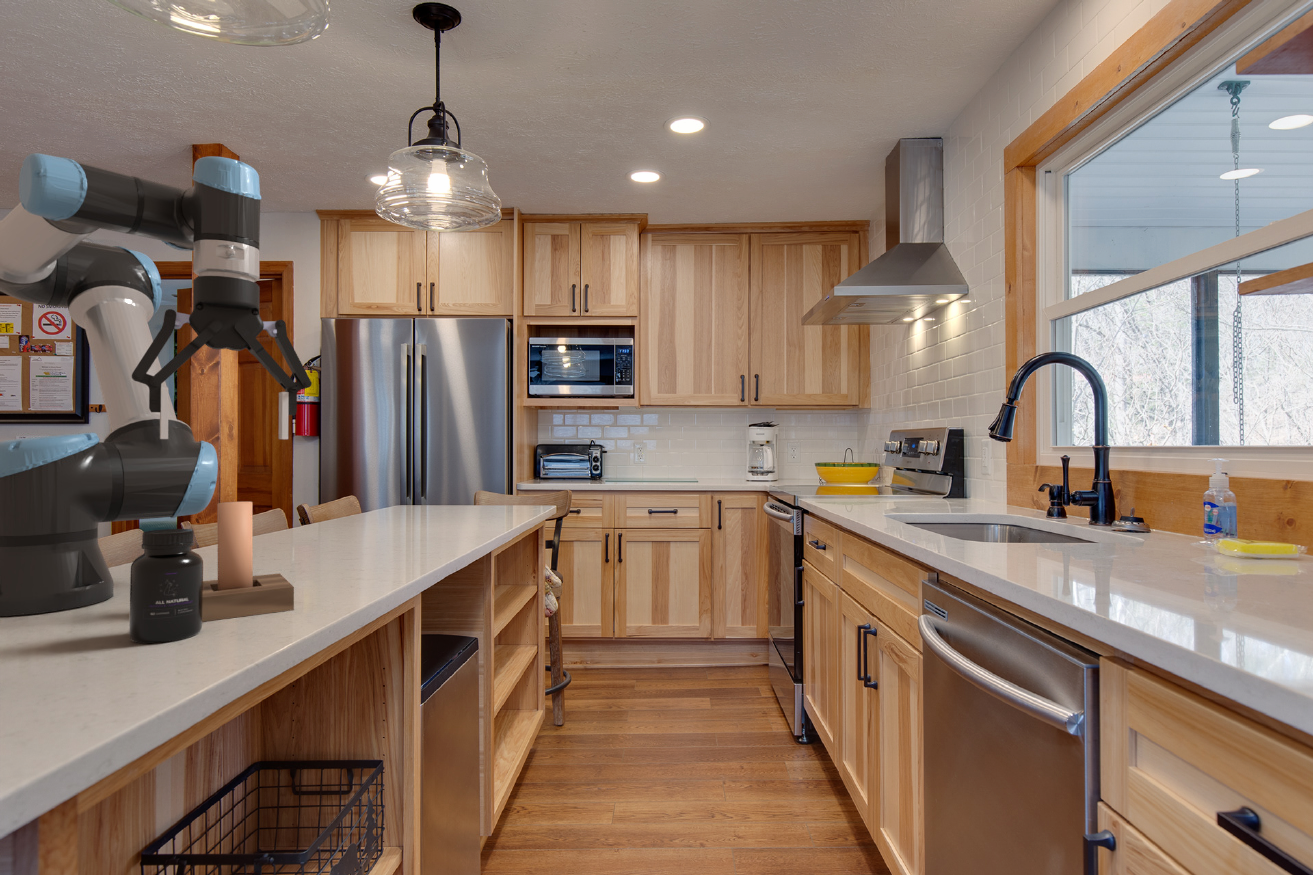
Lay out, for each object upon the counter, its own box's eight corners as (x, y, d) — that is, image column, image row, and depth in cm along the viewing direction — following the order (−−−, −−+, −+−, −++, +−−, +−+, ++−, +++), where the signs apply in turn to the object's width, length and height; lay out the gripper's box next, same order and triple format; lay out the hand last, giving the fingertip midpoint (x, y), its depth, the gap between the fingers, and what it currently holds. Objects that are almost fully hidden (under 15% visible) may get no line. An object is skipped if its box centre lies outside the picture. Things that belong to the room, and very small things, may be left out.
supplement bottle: (165, 646, 76) (165, 535, 76) (113, 643, 77) (113, 534, 77) (217, 629, 82) (217, 527, 82) (168, 626, 84) (168, 526, 84)
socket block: (179, 605, 95) (179, 583, 95) (279, 593, 102) (279, 573, 102) (183, 624, 85) (183, 599, 85) (293, 609, 92) (293, 586, 92)
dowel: (219, 612, 90) (218, 504, 91) (216, 607, 94) (216, 502, 94) (254, 608, 93) (254, 502, 93) (250, 602, 96) (250, 501, 96)
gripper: (107, 259, 83) (106, 439, 83) (334, 287, 98) (333, 439, 98) (108, 270, 89) (107, 438, 89) (322, 295, 104) (321, 439, 104)
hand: (226, 439), depth 93 cm, fingers open, 13 cm apart
